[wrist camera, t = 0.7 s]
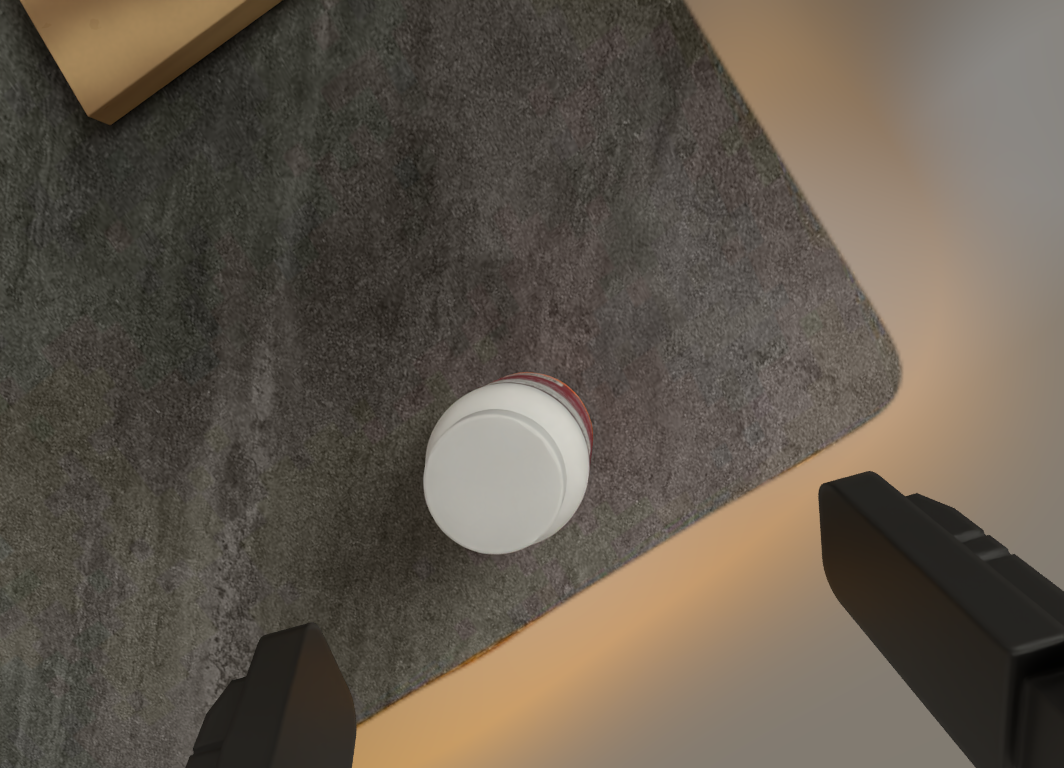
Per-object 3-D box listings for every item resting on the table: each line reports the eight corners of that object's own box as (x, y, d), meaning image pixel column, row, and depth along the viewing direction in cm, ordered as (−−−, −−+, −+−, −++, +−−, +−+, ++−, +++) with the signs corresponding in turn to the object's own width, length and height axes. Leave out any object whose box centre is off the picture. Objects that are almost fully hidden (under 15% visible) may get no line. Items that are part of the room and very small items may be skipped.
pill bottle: (511, 518, 33) (460, 612, 22) (445, 413, 33) (361, 454, 22) (618, 455, 32) (622, 520, 21) (551, 346, 32) (520, 354, 21)
